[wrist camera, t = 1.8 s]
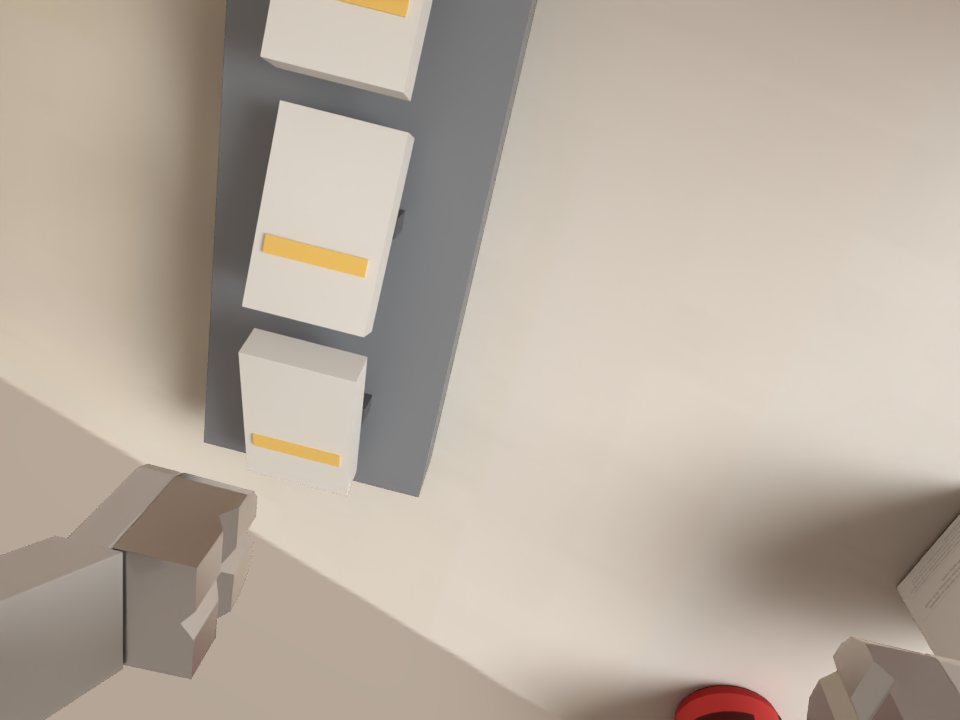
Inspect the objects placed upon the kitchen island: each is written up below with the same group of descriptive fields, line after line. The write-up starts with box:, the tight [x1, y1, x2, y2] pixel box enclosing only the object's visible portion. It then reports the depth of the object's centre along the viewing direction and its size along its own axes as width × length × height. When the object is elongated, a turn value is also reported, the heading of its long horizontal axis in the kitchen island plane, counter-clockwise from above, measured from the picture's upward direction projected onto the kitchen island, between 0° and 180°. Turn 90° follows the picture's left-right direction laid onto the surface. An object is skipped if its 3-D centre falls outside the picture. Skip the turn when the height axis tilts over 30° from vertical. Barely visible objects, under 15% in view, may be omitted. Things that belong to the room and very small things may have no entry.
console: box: [204, 0, 537, 497], centre depth 35 cm, size 32×13×6 cm, turn 167°
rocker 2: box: [242, 100, 415, 337], centre depth 31 cm, size 9×6×2 cm, turn 167°
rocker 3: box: [238, 328, 367, 496], centre depth 36 cm, size 9×6×2 cm, turn 168°
